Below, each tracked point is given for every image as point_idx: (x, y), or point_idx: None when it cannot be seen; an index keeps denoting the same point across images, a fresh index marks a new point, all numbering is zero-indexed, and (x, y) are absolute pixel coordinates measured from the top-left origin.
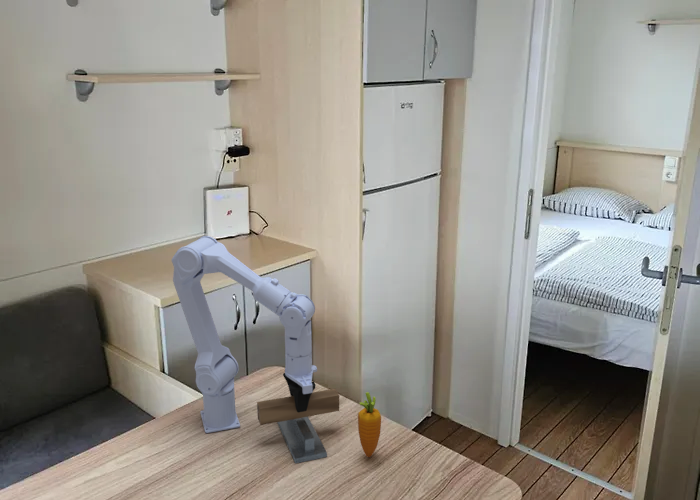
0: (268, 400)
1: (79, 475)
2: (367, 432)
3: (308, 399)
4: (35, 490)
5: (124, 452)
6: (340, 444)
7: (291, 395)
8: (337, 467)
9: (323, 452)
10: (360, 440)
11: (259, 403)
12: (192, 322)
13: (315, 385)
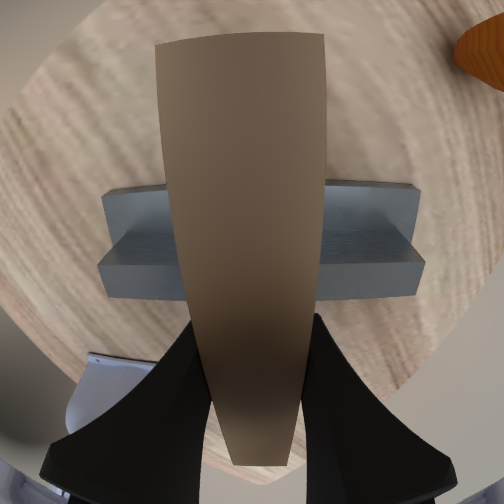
0: (231, 451)
1: (255, 472)
2: None
3: (355, 379)
4: (267, 481)
5: (220, 457)
6: (363, 105)
7: (209, 404)
8: (463, 174)
9: (417, 202)
10: (498, 86)
11: (245, 463)
12: None
13: (448, 480)
